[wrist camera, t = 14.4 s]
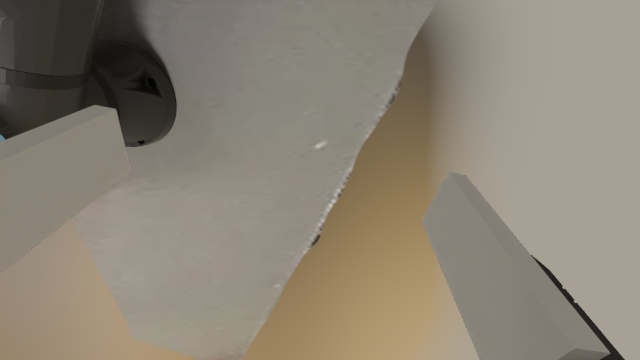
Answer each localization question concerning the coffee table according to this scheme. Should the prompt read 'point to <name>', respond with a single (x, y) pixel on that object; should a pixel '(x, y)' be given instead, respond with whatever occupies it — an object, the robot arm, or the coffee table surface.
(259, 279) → the coffee table surface
